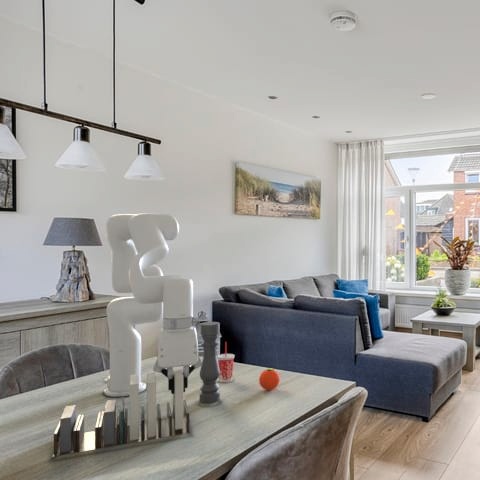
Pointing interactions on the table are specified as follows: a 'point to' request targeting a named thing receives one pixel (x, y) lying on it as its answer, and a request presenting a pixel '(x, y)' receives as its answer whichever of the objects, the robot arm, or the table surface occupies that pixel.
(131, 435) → the white book
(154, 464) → the table surface
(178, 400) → the white book
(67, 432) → the grey book
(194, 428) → the table surface
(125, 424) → the book rack
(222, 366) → the beverage cup
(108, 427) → the grey book
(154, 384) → the white book
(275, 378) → the clementine
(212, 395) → the candle holder
